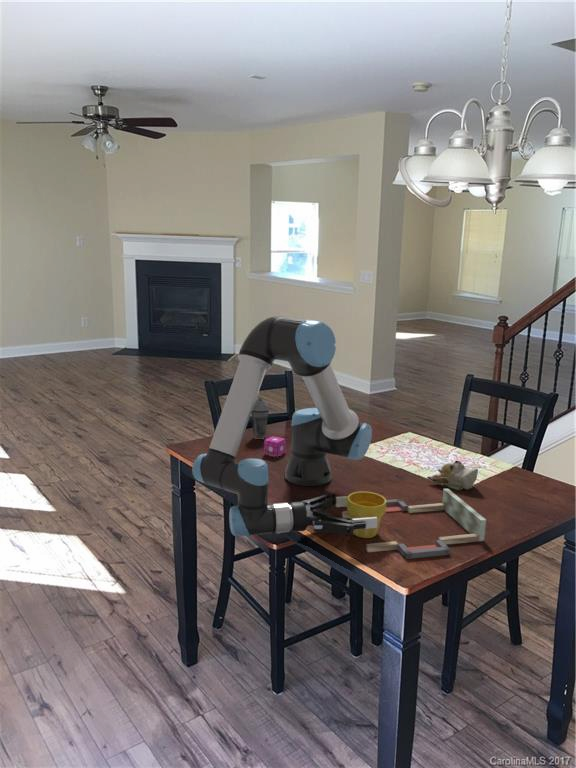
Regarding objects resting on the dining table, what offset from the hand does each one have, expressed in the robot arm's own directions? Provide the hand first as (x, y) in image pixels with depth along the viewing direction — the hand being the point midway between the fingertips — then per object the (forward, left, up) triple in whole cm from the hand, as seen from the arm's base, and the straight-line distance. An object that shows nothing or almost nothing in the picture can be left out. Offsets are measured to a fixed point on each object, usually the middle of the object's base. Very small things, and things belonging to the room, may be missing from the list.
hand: (367, 510), depth 164 cm
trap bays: (0, +11, -6) cm, 13 cm away
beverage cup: (-83, -13, -7) cm, 85 cm away
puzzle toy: (-64, -11, -7) cm, 66 cm away
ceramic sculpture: (-27, +40, -7) cm, 48 cm away
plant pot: (0, 0, -7) cm, 7 cm away
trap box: (0, +13, -6) cm, 14 cm away
